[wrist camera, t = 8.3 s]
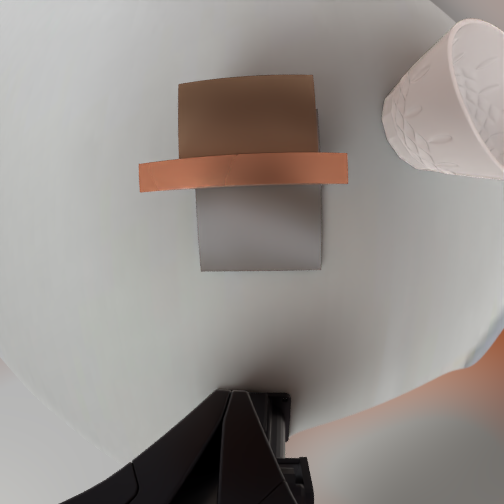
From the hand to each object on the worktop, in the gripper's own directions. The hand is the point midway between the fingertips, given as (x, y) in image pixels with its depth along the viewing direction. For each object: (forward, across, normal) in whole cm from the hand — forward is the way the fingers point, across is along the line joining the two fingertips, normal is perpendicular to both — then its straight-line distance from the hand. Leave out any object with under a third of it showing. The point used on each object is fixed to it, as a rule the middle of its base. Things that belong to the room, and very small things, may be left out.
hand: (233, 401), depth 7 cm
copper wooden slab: (+12, 0, -8) cm, 14 cm away
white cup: (+13, -12, -10) cm, 20 cm away
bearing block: (+13, 0, -5) cm, 14 cm away
